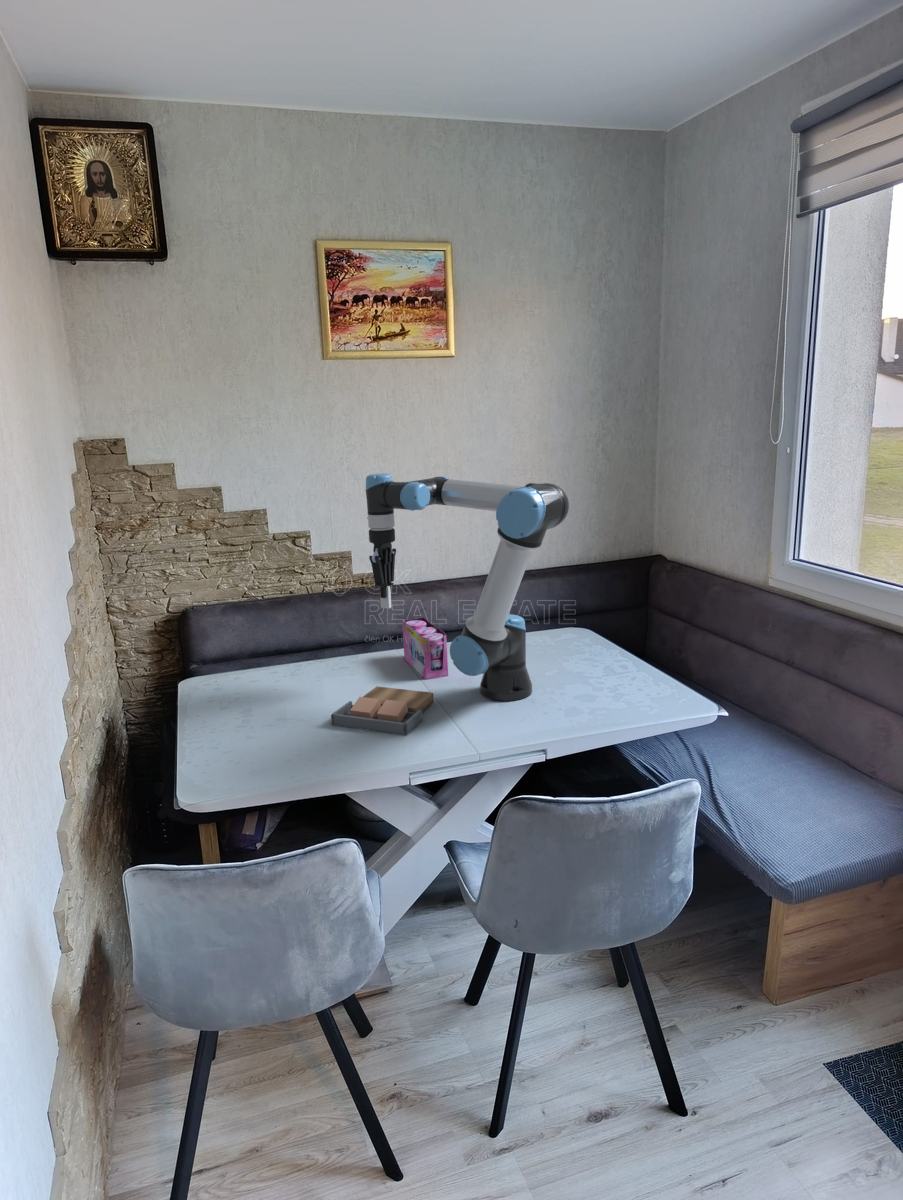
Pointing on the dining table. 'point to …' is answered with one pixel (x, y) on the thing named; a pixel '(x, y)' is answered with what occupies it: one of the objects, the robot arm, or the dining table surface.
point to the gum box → (425, 648)
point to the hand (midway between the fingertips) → (386, 607)
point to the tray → (375, 721)
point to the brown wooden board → (403, 697)
